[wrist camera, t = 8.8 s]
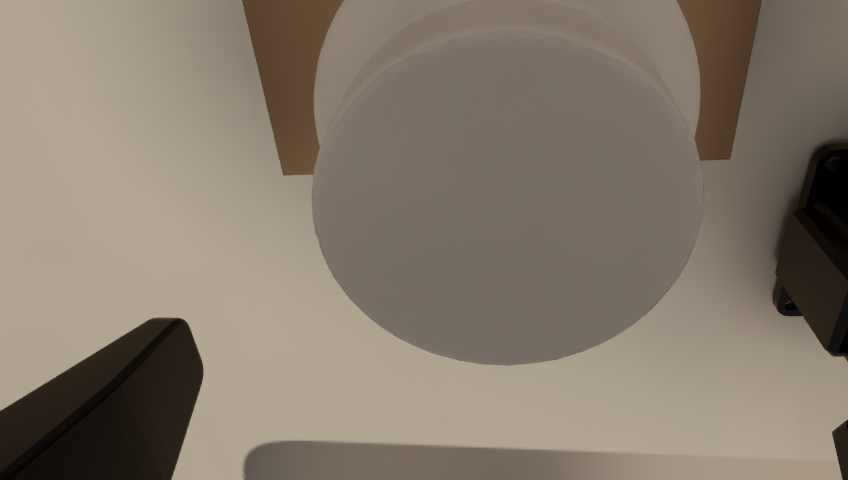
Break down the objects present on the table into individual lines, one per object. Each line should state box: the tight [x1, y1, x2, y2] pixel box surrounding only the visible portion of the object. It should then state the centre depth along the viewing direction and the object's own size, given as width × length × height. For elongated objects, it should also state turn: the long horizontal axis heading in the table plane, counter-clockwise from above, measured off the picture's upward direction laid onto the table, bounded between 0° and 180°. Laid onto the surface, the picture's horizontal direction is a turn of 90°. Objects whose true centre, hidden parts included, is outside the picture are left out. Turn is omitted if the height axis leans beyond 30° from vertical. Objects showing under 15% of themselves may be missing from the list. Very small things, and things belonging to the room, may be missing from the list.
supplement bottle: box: [312, 0, 704, 365], centre depth 10 cm, size 5×5×10 cm
